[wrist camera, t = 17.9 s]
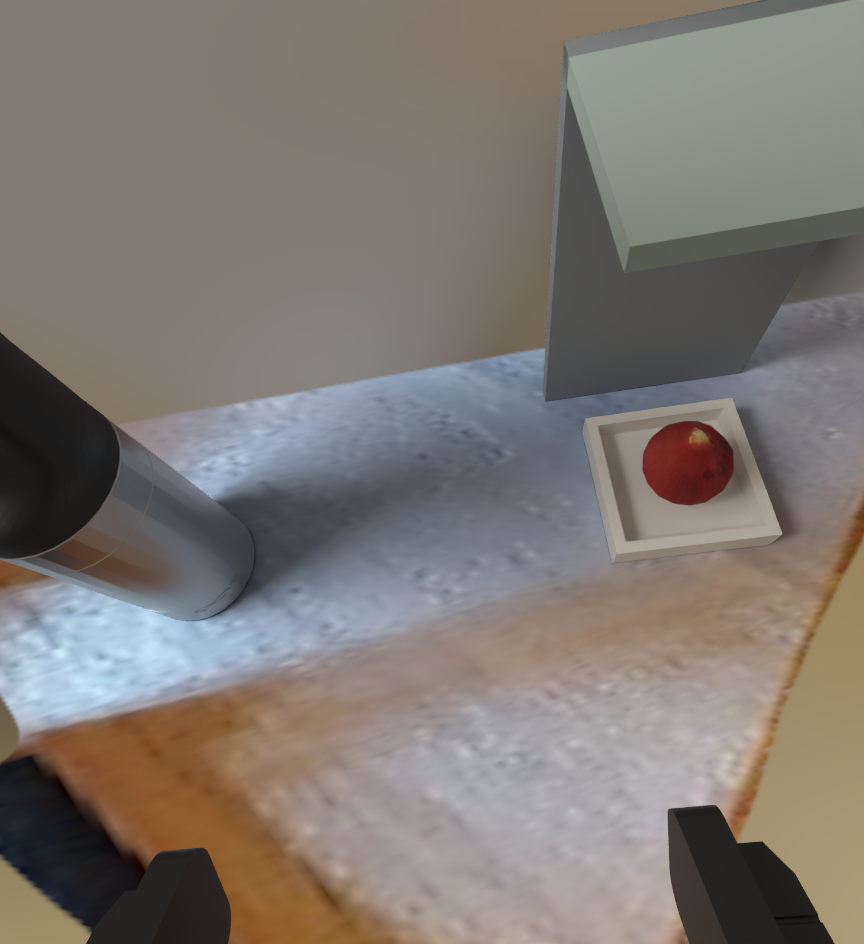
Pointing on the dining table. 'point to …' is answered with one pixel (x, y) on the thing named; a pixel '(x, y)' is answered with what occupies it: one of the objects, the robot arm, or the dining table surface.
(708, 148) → the inverted l bracket
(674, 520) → the tray
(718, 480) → the onion
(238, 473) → the dining table surface
